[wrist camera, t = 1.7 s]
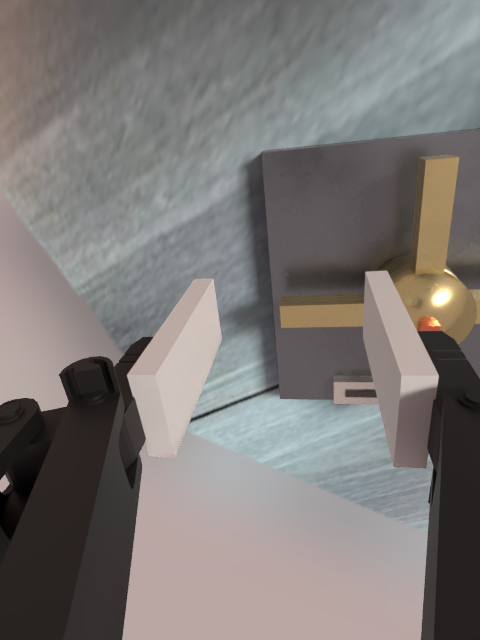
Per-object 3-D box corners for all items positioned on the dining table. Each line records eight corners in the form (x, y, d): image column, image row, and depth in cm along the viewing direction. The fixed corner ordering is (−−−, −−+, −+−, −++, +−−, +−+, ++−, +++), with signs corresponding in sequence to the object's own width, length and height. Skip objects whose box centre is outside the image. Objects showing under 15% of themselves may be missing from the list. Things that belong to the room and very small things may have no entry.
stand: (264, 150, 30) (258, 154, 27) (594, 116, 26) (635, 116, 23) (281, 386, 40) (278, 410, 37) (524, 388, 36) (546, 415, 33)
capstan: (276, 166, 29) (268, 177, 24) (593, 136, 25) (666, 141, 20) (289, 391, 38) (286, 435, 32) (526, 394, 34) (564, 443, 29)
